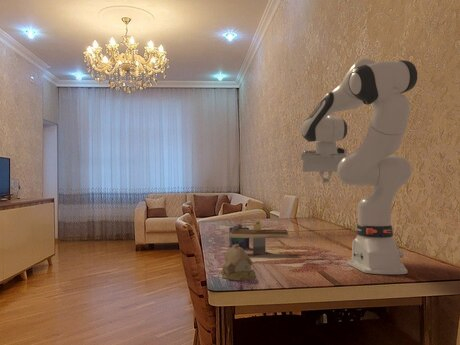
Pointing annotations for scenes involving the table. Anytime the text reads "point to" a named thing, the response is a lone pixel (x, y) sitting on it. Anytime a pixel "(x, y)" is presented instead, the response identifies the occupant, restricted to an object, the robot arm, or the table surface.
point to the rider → (257, 226)
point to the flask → (241, 241)
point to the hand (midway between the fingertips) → (325, 182)
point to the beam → (258, 237)
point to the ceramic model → (237, 264)
